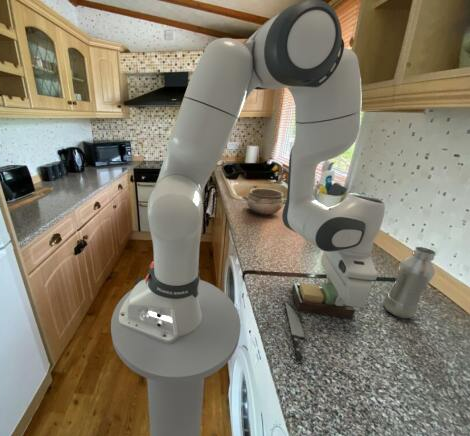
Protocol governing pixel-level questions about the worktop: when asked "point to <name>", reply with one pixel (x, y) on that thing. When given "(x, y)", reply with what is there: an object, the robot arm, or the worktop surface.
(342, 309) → the brown wooden tray
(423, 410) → the worktop surface
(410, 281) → the plastic bottle
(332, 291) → the green block
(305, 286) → the tan block
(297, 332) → the chef's knife
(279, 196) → the cooking pot
